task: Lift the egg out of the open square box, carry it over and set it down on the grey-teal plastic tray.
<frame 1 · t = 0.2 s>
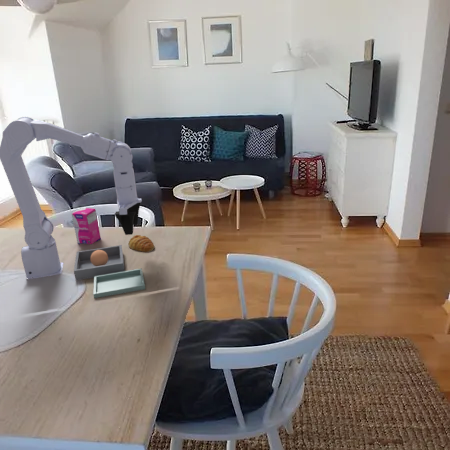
hand: (131, 229, 123), 10 cm above the table, tool pointing down, fingers open, 7 cm apart
supplement box: (89, 242, 141), on the table
open square box: (101, 267, 122), on the table
tray: (119, 286, 111), on the table
pastry: (142, 248, 135), on the table
egg: (100, 265, 122), point 1 cm above the table, touching open square box
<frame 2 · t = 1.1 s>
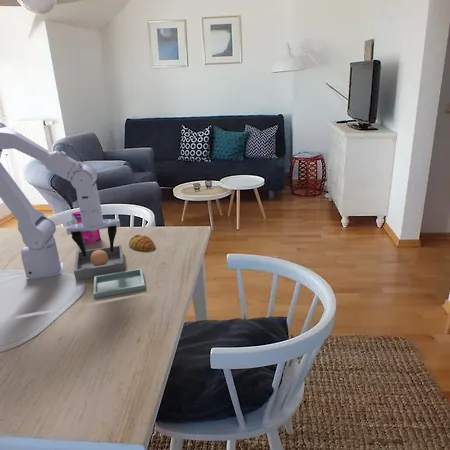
hand: (98, 252, 121), 5 cm above the table, tool pointing down, fingers open, 7 cm apart
nothing on the table moved.
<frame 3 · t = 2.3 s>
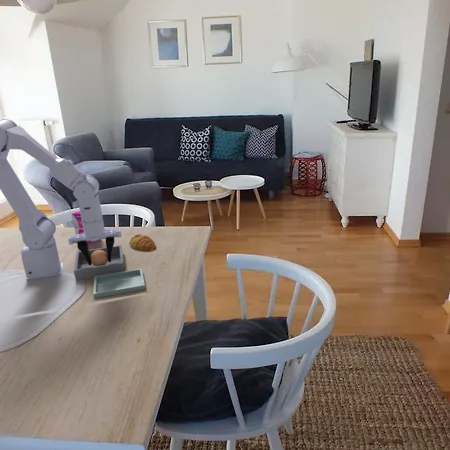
hand: (100, 262, 122), 2 cm above the table, tool pointing down, fingers closed on egg, 5 cm apart
egg: (100, 265, 122), point 1 cm above the table, touching open square box, gripper
everything else where it was.
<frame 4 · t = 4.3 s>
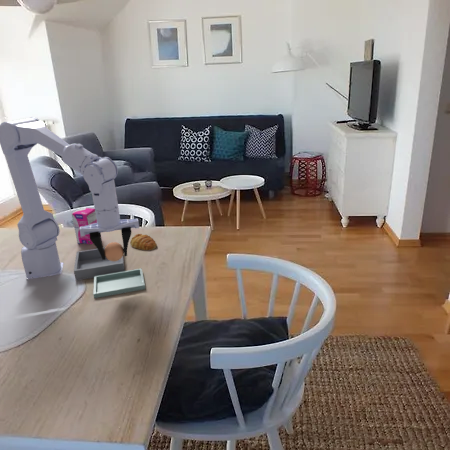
hand: (114, 256, 108), 9 cm above the table, tool pointing down, fingers closed on egg, 5 cm apart
egg: (115, 260, 109), point 8 cm above the table, touching gripper
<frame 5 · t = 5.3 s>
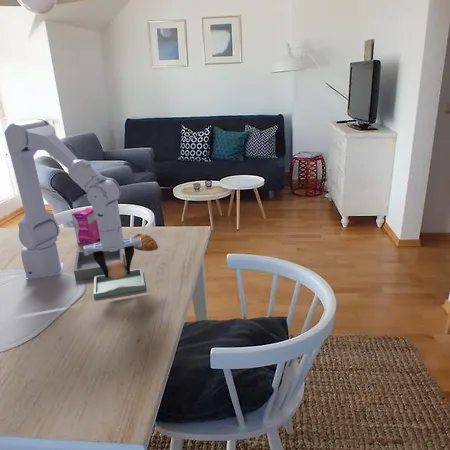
hand: (117, 274, 110), 4 cm above the table, tool pointing down, fingers closed on egg, 5 cm apart
egg: (118, 278, 111), point 2 cm above the table, touching gripper
when the fingers open (3 cm above the table, at t = 6.3 s): egg drops 2 cm, resting on tray.
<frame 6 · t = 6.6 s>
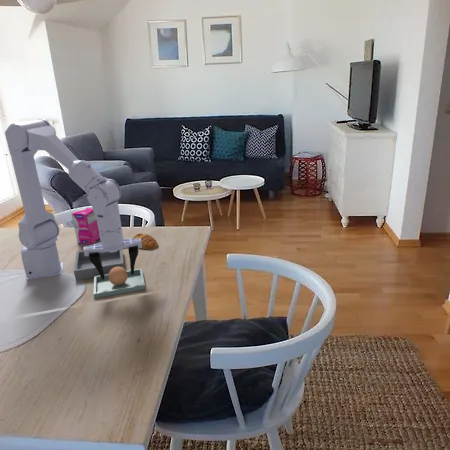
hand: (117, 275, 110), 3 cm above the table, tool pointing down, fingers open, 7 cm apart
egg: (119, 284, 111), point 1 cm above the table, touching tray
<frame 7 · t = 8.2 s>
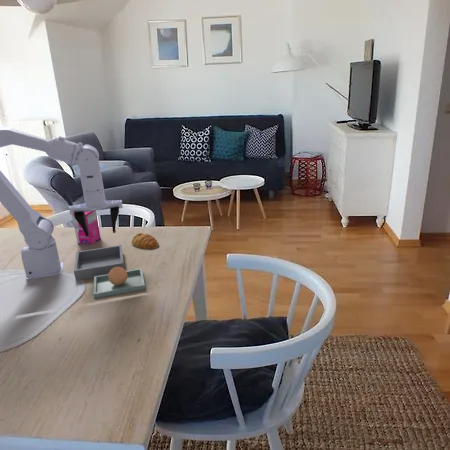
hand: (100, 233, 121), 10 cm above the table, tool pointing down, fingers open, 7 cm apart
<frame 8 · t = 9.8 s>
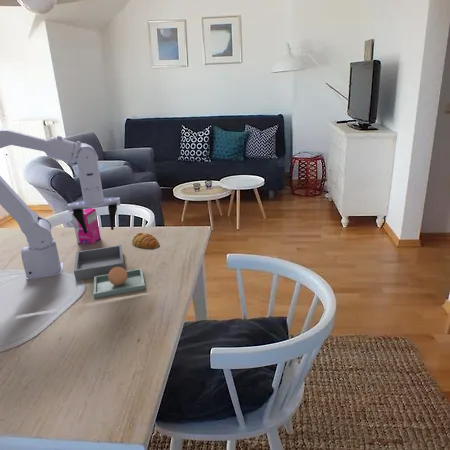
hand: (99, 230, 123), 10 cm above the table, tool pointing down, fingers open, 7 cm apart
at the end: egg inside the target area on the tray (0.1 cm from its centre), point 0.6 cm above the tray's base; the gripper is holding nothing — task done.
